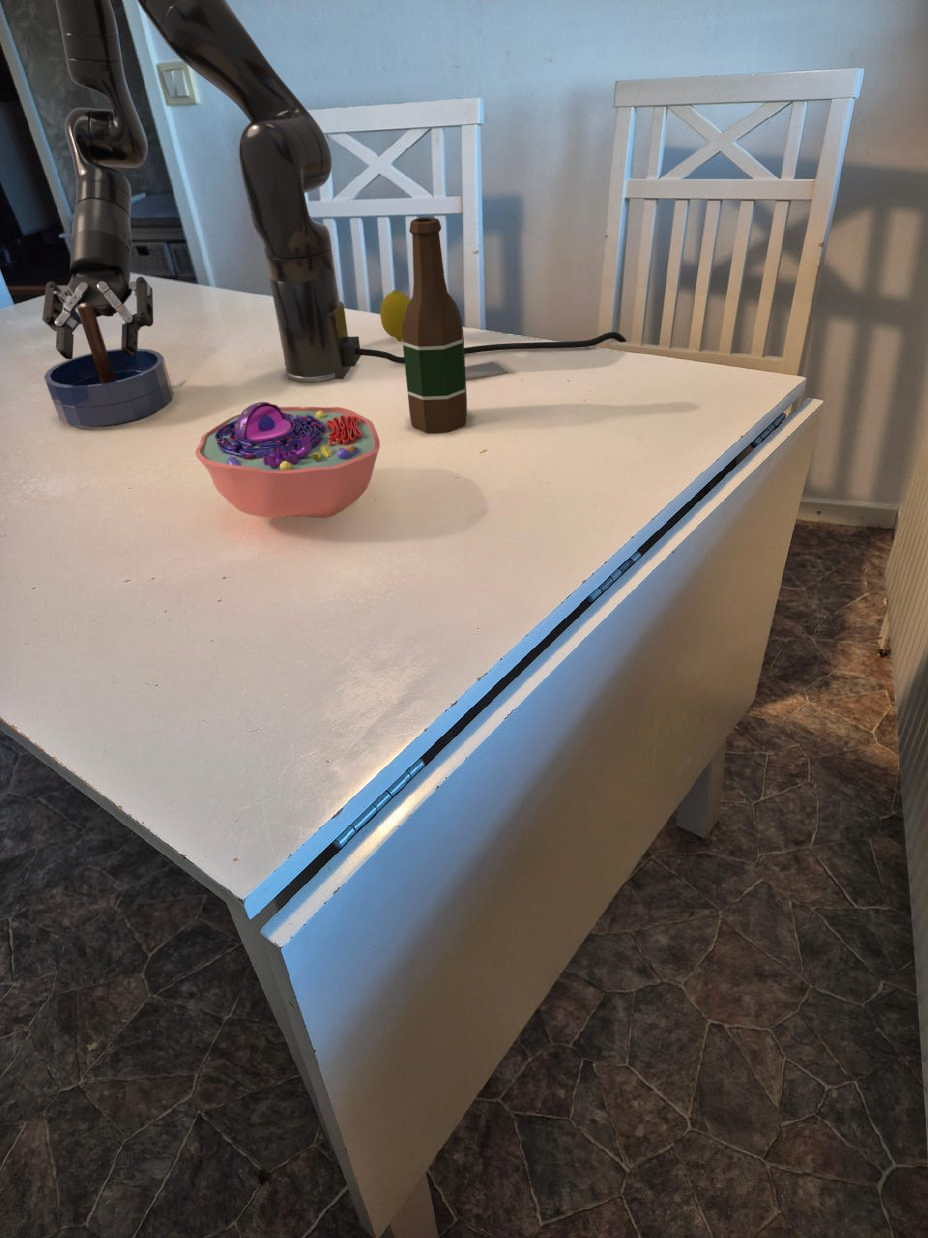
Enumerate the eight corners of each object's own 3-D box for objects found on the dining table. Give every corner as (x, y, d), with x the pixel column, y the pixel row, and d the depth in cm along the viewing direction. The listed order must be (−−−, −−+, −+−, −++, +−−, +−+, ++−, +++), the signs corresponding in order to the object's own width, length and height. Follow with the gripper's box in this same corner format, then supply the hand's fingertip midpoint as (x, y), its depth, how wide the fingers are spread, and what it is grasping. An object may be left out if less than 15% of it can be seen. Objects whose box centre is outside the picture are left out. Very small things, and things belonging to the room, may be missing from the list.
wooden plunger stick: (142, 396, 117) (113, 298, 109) (125, 411, 112) (94, 310, 104) (106, 396, 117) (74, 299, 109) (87, 411, 113) (53, 311, 105)
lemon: (412, 346, 131) (407, 294, 126) (379, 345, 132) (373, 294, 127) (420, 335, 135) (416, 285, 130) (388, 335, 136) (383, 285, 131)
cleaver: (509, 376, 119) (494, 366, 123) (509, 368, 118) (494, 357, 122) (425, 390, 114) (412, 378, 118) (425, 381, 114) (412, 370, 117)
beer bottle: (479, 414, 106) (470, 213, 92) (453, 438, 101) (440, 227, 86) (426, 407, 109) (410, 211, 95) (398, 430, 104) (377, 225, 89)
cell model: (323, 568, 78) (303, 459, 71) (180, 521, 87) (150, 421, 80) (422, 493, 89) (413, 394, 82) (286, 459, 98) (268, 367, 91)
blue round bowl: (190, 387, 120) (180, 347, 117) (147, 430, 108) (134, 386, 104) (92, 388, 122) (79, 349, 119) (38, 431, 110) (21, 387, 106)
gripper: (35, 230, 108) (29, 344, 106) (140, 224, 108) (135, 338, 105) (66, 263, 116) (60, 370, 113) (163, 258, 115) (160, 365, 113)
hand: (96, 355), depth 109 cm, fingers open, 8 cm apart
